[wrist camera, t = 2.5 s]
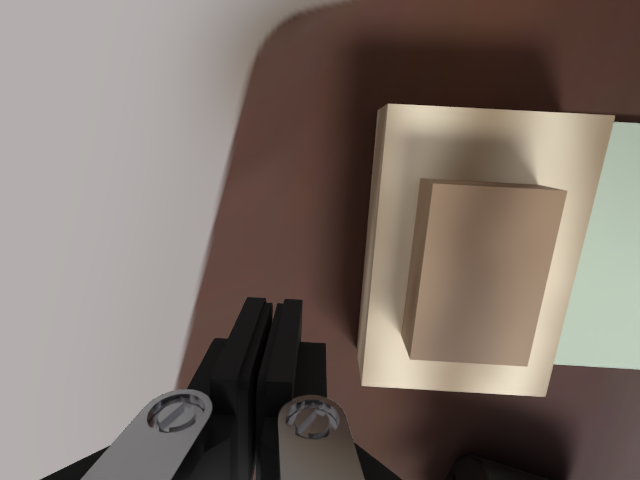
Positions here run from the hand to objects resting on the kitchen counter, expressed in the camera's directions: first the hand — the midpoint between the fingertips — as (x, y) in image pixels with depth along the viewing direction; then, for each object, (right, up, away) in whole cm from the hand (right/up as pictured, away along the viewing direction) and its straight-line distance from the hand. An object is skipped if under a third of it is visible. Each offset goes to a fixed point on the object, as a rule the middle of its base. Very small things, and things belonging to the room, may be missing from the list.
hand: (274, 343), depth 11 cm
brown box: (+9, +2, +9) cm, 13 cm away
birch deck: (+10, +3, +13) cm, 16 cm away
